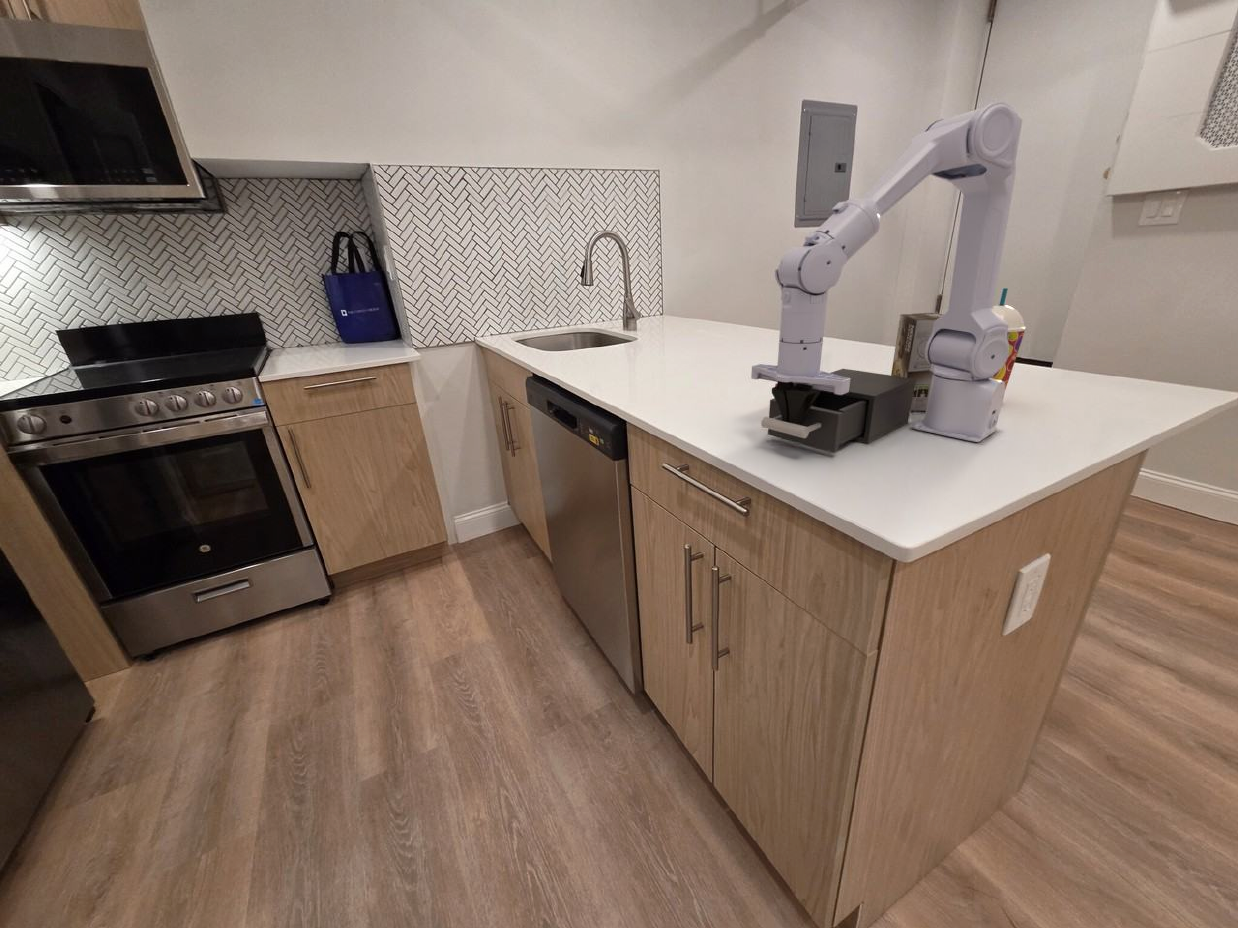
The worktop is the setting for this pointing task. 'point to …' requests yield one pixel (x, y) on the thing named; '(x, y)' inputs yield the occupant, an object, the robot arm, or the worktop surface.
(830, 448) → the open pull-out drawer
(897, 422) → the dark drawer unit
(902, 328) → the coffee box
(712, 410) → the worktop surface
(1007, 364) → the smoothie
